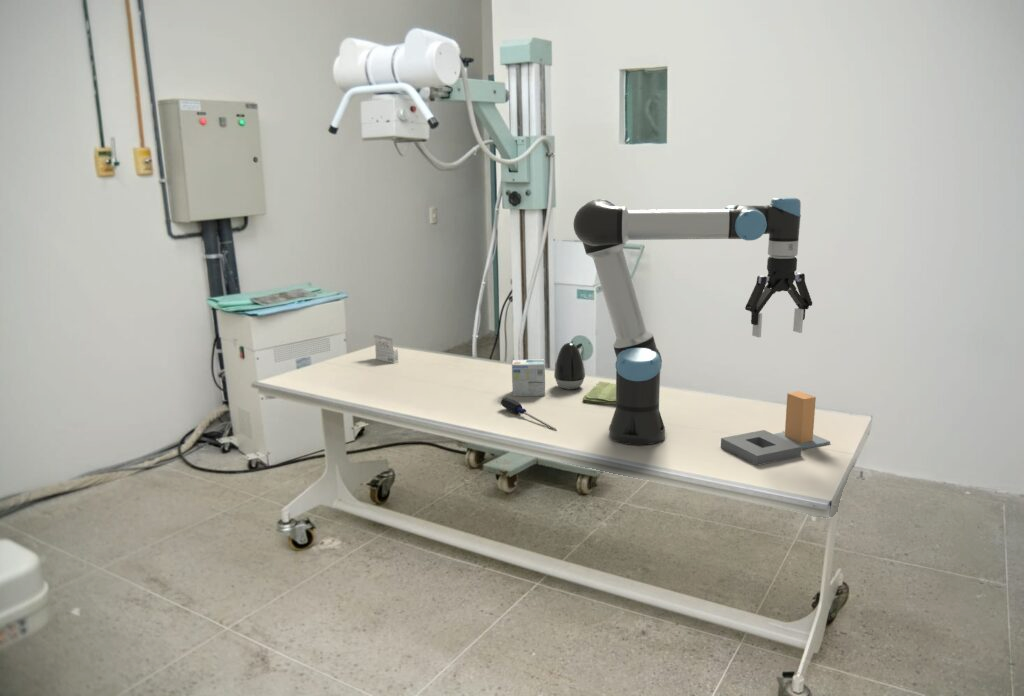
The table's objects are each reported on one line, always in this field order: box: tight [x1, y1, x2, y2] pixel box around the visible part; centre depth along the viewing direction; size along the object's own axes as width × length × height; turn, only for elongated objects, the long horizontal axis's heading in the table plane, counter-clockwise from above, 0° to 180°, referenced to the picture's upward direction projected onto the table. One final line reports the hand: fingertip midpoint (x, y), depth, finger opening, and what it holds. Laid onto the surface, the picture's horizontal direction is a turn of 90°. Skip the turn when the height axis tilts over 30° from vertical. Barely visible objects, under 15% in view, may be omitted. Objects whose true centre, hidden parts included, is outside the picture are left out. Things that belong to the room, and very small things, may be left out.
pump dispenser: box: [553, 342, 586, 390], centre depth 261 cm, size 10×10×15 cm
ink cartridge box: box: [373, 334, 399, 364], centre depth 302 cm, size 2×11×10 cm, turn 48°
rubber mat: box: [773, 431, 831, 450], centre depth 210 cm, size 11×11×1 cm
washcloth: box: [582, 381, 616, 406], centre depth 251 cm, size 13×18×3 cm
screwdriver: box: [500, 396, 558, 431], centre depth 232 cm, size 26×4×4 cm, turn 35°
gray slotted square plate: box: [720, 429, 802, 466], centre depth 203 cm, size 14×14×2 cm
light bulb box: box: [511, 358, 546, 397], centre depth 256 cm, size 11×7×11 cm, turn 88°
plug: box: [784, 390, 817, 443], centre depth 209 cm, size 4×6×12 cm, turn 23°
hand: (777, 334), depth 216 cm, fingers open, 13 cm apart
